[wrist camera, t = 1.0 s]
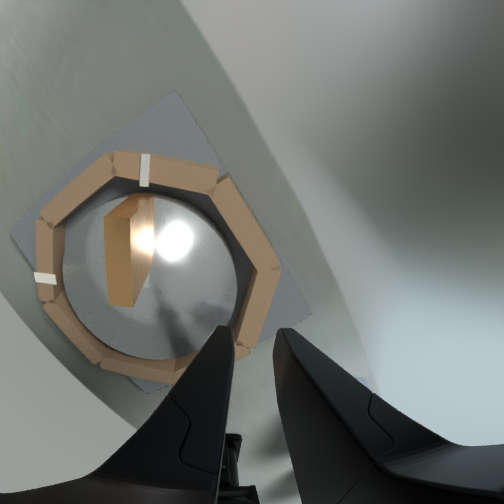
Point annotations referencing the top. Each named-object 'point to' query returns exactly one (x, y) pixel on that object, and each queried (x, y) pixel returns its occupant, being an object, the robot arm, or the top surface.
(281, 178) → the top surface
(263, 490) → the top surface
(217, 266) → the dial
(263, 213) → the top surface
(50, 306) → the dial plate
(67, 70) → the top surface
